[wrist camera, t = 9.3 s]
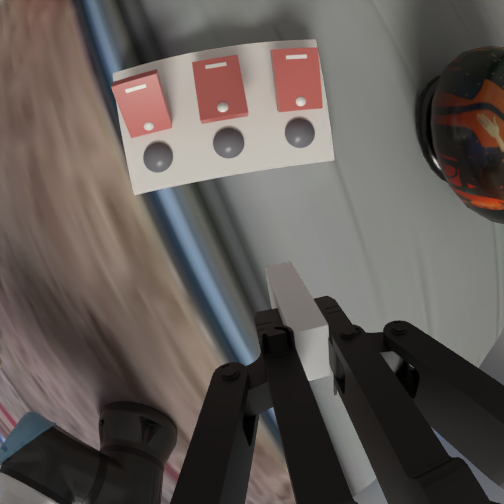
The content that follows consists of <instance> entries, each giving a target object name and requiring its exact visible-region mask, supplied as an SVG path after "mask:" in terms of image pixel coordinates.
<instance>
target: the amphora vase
mask: <svg viewBox="0 0 504 504" xmlns="http://www.w3.org/2000/svg"><path fill="white" fill-rule="evenodd" d="M417 130H418V138H419V143H420V146H421V149H422V152H423V155H424V157H425V159H426V160H427V162H428V164H429V166H430V167H431V169H432V170H433V171H434V172H435V173H436V174H437V175H438V177H439V178H440V179H442V180H444V181H446V182H447V183H448V184H449V186H450V188H451V189H452V190H453V191H454V192H455V193H456V195H457V196H458V197H459V198H460V199H461V200H462V202H463V203H464V204H465V205H466V206H467V207H468V208H470V209H471V210H473V211H474V212H476V213H478V214H479V215H481V216H483V217H485V218H487V219H488V220H490V221H492V222H496V223H501V224H504V47H493V46H487V47H482V48H478V49H473V50H470V51H466V52H463V53H461V54H460V55H459V56H458V57H457V58H455V59H454V60H453V61H452V62H451V63H450V64H449V65H448V66H447V67H446V68H445V69H444V71H443V73H442V75H440V76H437V77H435V78H434V79H433V80H432V81H431V82H430V83H428V85H427V86H426V88H425V90H424V91H423V93H422V95H421V98H420V102H419V105H418V109H417Z"/></svg>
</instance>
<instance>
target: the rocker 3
mask: <svg viewBox="0 0 504 504" xmlns="http://www.w3.org/2000/svg"><path fill="white" fill-rule="evenodd" d="M270 54H271V62H272V70H273V78H274V87H275V95H276V104H277V110H278V111H279V112H287V111H297V110H308V109H321V108H323V105H322V90H321V77H320V66H319V55H318V47H311V48H289V49H275V50H270Z"/></svg>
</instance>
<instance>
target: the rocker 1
mask: <svg viewBox="0 0 504 504" xmlns="http://www.w3.org/2000/svg"><path fill="white" fill-rule="evenodd" d="M111 88H112V91H113V94H114V96H115V99H116V101H117V104H118V107H119V109H120V112H121V114H122V117H123V119H124V122H125V124H126V127H127V129H128V132H129V134H130V137H131V138H134V137H138V136H142V135H146V134H150V133H154V132H158V131H162V130H166V129H170V128H172V123H173V122H172V118H171V115H170V111H169V108H168V104H167V101H166V97H165V94H164V90H163V87H162V83H161V79H160V76H159V72H158V69H156V70H152V71H148V72H144V73H141V74H137V75H134V76H130V77H127V78H124V79H121V80H117V81H114V82H113V84H112V86H111Z"/></svg>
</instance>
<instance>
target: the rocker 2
mask: <svg viewBox="0 0 504 504" xmlns="http://www.w3.org/2000/svg"><path fill="white" fill-rule="evenodd" d="M192 66H193V74H194V81H195V88H196V95H197V102H198V108H199V115H200V121H201V123H202V124H205V123H210V122H216V121H221V120H227V119H233V118H240V117H246V116H248V113H249V112H248V107H247V101H246V96H245V91H244V86H243V80H242V75H241V70H240V65H239V60H238V55H231V56H225V57H218V58H212V59H207V60H201V61H196V62H192Z"/></svg>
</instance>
